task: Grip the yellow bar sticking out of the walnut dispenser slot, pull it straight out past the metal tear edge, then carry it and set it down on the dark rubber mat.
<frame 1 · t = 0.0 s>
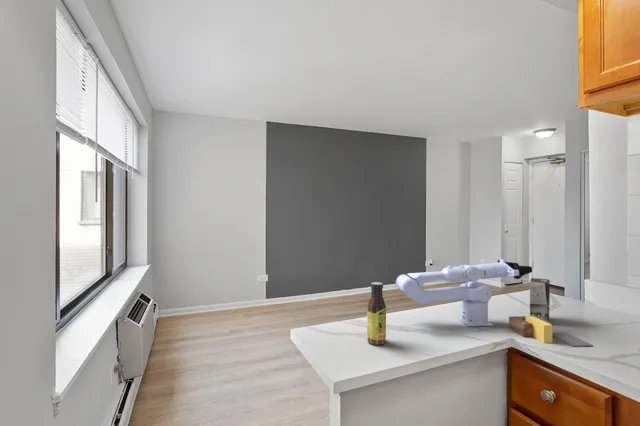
hand: (524, 267, 127), 22 cm above the worktop, tool horizontal, fingers open, 7 cm apart
sauce bottle: (376, 342, 108), on the worktop
mat: (568, 339, 110), on the worktop
yellow bar: (538, 337, 112), on the worktop
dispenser: (529, 332, 116), on the worktop
coffee box: (539, 320, 130), on the worktop
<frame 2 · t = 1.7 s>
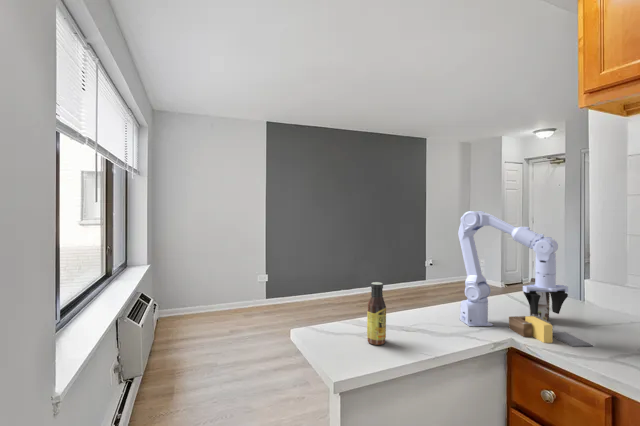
hand: (545, 313, 109), 10 cm above the worktop, tool pointing down, fingers open, 7 cm apart
nothing on the worktop moved.
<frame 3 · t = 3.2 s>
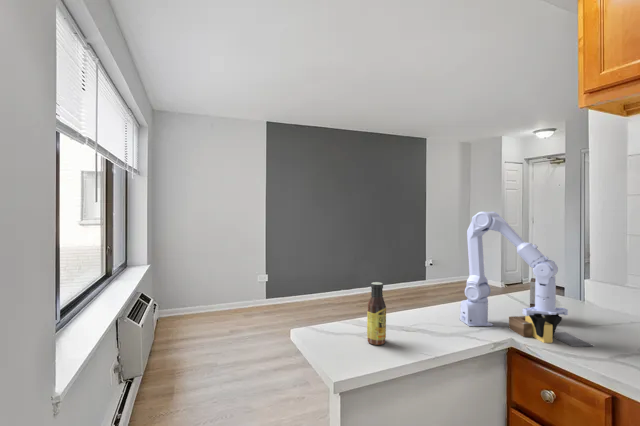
hand: (544, 335, 109), 2 cm above the worktop, tool pointing down, fingers closed on yellow bar, 3 cm apart
yellow bar: (538, 337, 112), on the worktop, touching gripper
everything else where it was.
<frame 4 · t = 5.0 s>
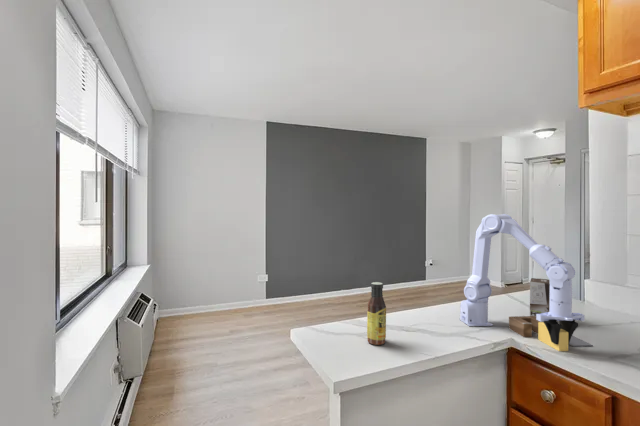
hand: (560, 342, 102), 2 cm above the worktop, tool pointing down, fingers closed on yellow bar, 3 cm apart
yellow bar: (552, 345, 105), on the worktop, touching gripper
everything else where it was.
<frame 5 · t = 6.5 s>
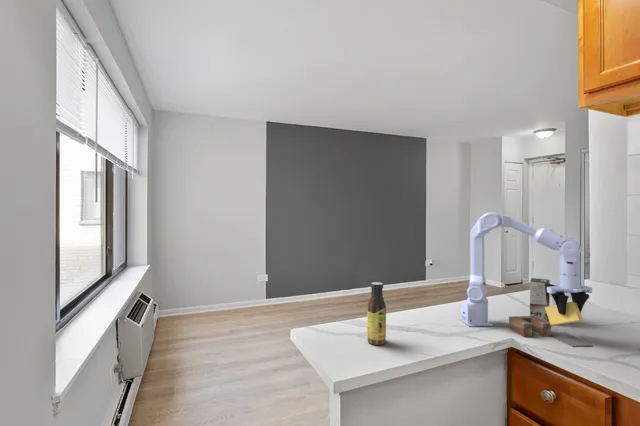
hand: (569, 313, 109), 9 cm above the worktop, tool pointing down, fingers closed on yellow bar, 5 cm apart
yellow bar: (566, 322, 109), point 6 cm above the worktop, tilted 31°, touching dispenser, gripper
everything else where it was.
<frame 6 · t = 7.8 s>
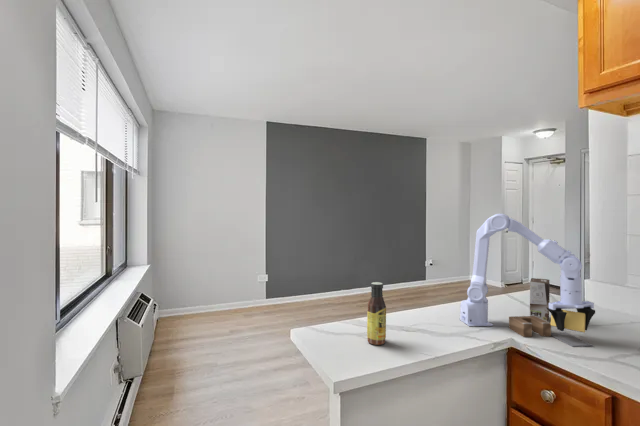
hand: (571, 329, 109), 4 cm above the worktop, tool pointing down
yellow bar: (567, 328, 110), point 4 cm above the worktop, tilted 20°, touching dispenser, gripper
everything else where it was.
when the fingers open (4 cm above the worktop, at t = 8.0 s): yellow bar drops 3 cm, resting on mat.
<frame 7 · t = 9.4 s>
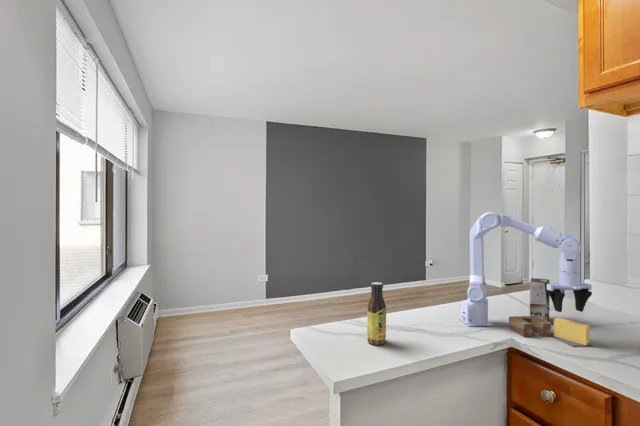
hand: (568, 311, 110), 10 cm above the worktop, tool pointing down, fingers open, 7 cm apart
yellow bar: (571, 339, 109), resting on mat
everything else where it was.
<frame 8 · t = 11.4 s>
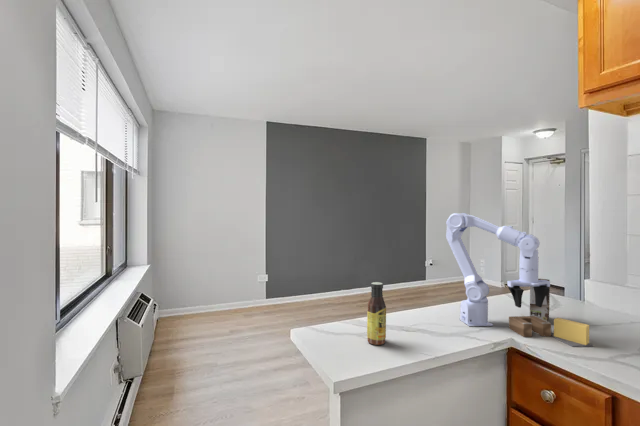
hand: (528, 306, 115), 10 cm above the worktop, tool pointing down, fingers open, 7 cm apart
nothing on the worktop moved.
at the end: yellow bar inside the target area on the mat (0.9 cm from its centre), point 0.4 cm above the mat's base; yellow bar touching mat; the gripper is holding nothing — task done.
